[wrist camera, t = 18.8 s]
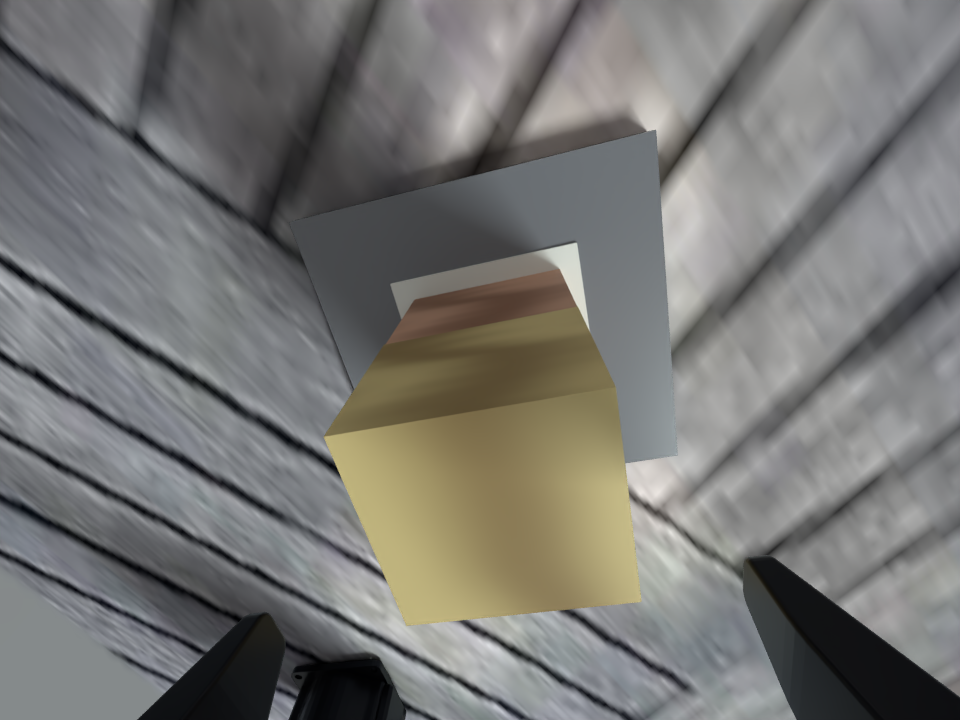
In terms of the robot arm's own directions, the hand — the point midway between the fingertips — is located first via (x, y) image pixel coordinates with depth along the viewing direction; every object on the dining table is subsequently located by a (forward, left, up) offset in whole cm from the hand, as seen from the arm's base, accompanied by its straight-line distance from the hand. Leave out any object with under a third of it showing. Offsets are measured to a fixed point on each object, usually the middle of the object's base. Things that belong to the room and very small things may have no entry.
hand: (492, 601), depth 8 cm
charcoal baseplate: (0, 0, -13) cm, 13 cm away
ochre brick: (0, 0, -7) cm, 7 cm away
